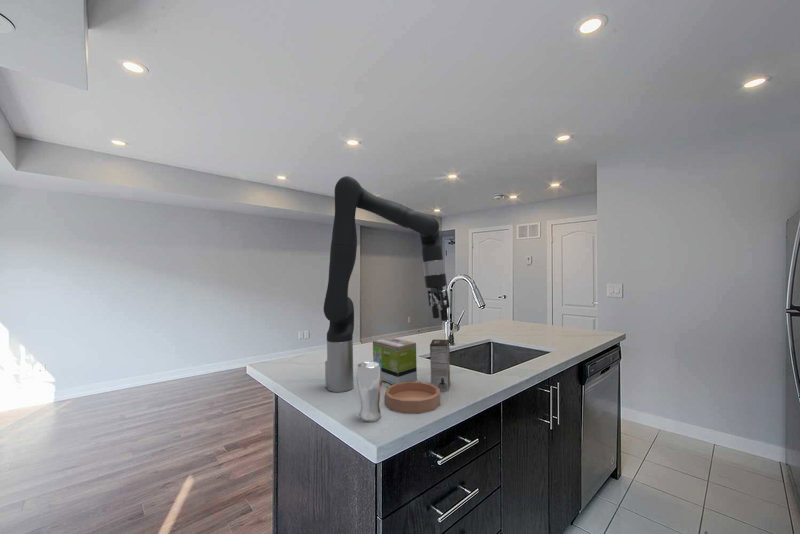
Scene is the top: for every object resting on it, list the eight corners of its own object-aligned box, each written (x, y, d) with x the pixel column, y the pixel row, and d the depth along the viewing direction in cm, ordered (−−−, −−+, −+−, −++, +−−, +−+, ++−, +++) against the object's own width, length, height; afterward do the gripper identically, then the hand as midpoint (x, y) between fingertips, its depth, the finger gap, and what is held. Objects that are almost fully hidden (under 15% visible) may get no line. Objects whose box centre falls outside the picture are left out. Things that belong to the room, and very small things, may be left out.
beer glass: (358, 413, 98) (357, 361, 98) (382, 411, 98) (381, 360, 99) (357, 423, 91) (356, 368, 91) (383, 422, 91) (381, 367, 92)
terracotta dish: (374, 405, 103) (374, 393, 103) (405, 388, 117) (405, 378, 117) (421, 418, 93) (421, 405, 93) (449, 398, 107) (449, 387, 107)
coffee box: (433, 382, 124) (432, 338, 124) (450, 383, 123) (449, 339, 123) (430, 390, 115) (429, 344, 115) (449, 391, 114) (448, 344, 114)
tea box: (372, 378, 130) (371, 340, 130) (391, 372, 137) (391, 336, 137) (398, 387, 119) (397, 346, 119) (417, 380, 126) (417, 341, 126)
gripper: (418, 275, 124) (424, 319, 123) (431, 274, 110) (437, 323, 109) (437, 273, 125) (443, 316, 125) (452, 271, 112) (458, 319, 111)
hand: (440, 319), depth 117 cm, fingers open, 8 cm apart
